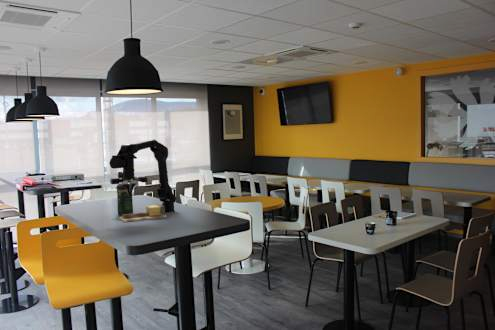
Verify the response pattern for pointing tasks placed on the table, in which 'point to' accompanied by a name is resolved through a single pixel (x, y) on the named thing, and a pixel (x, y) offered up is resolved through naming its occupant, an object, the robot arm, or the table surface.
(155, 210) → the block
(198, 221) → the table surface
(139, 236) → the table surface
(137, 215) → the track
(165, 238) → the table surface
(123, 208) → the coffee jar
